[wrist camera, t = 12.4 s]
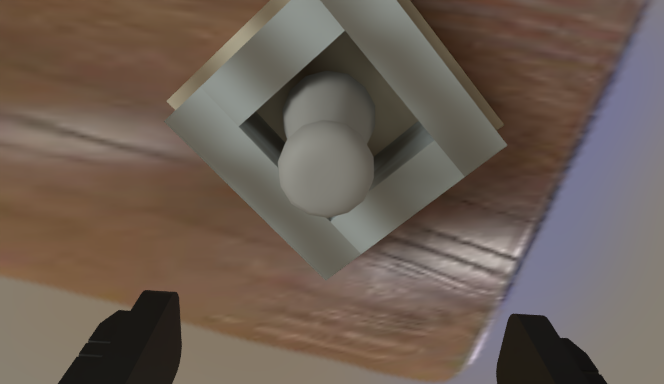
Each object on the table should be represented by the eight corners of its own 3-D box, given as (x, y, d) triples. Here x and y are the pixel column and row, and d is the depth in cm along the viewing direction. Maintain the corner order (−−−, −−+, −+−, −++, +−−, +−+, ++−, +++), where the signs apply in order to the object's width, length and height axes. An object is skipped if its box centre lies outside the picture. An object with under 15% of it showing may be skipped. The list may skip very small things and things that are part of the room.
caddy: (350, -76, 30) (354, -91, 24) (498, 120, 35) (531, 147, 29) (171, 97, 34) (138, 119, 28) (325, 252, 39) (324, 298, 33)
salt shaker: (333, 45, 32) (333, 81, 20) (390, 112, 33) (422, 184, 21) (267, 105, 33) (229, 174, 21) (325, 167, 35) (320, 262, 23)
